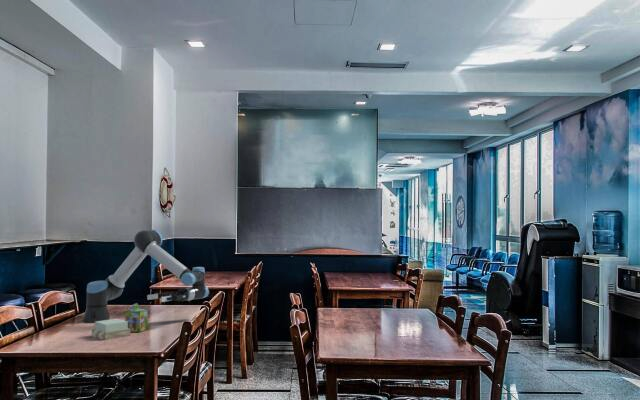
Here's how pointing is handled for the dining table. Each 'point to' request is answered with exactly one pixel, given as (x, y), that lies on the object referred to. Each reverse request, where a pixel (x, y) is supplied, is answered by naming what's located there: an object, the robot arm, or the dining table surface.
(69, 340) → the dining table surface
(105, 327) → the top block
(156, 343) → the dining table surface
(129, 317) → the chalk box
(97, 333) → the bottom block
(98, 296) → the robot arm
